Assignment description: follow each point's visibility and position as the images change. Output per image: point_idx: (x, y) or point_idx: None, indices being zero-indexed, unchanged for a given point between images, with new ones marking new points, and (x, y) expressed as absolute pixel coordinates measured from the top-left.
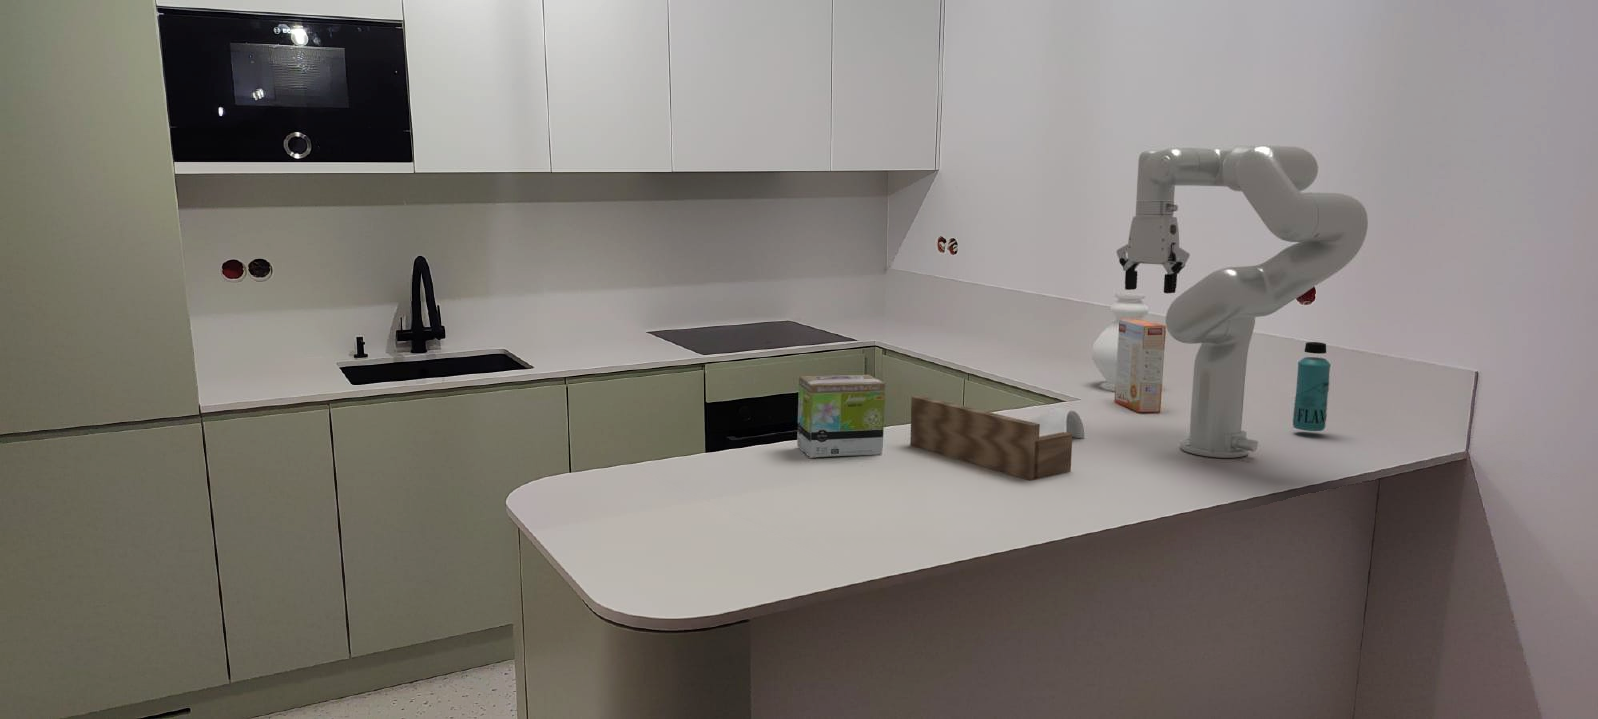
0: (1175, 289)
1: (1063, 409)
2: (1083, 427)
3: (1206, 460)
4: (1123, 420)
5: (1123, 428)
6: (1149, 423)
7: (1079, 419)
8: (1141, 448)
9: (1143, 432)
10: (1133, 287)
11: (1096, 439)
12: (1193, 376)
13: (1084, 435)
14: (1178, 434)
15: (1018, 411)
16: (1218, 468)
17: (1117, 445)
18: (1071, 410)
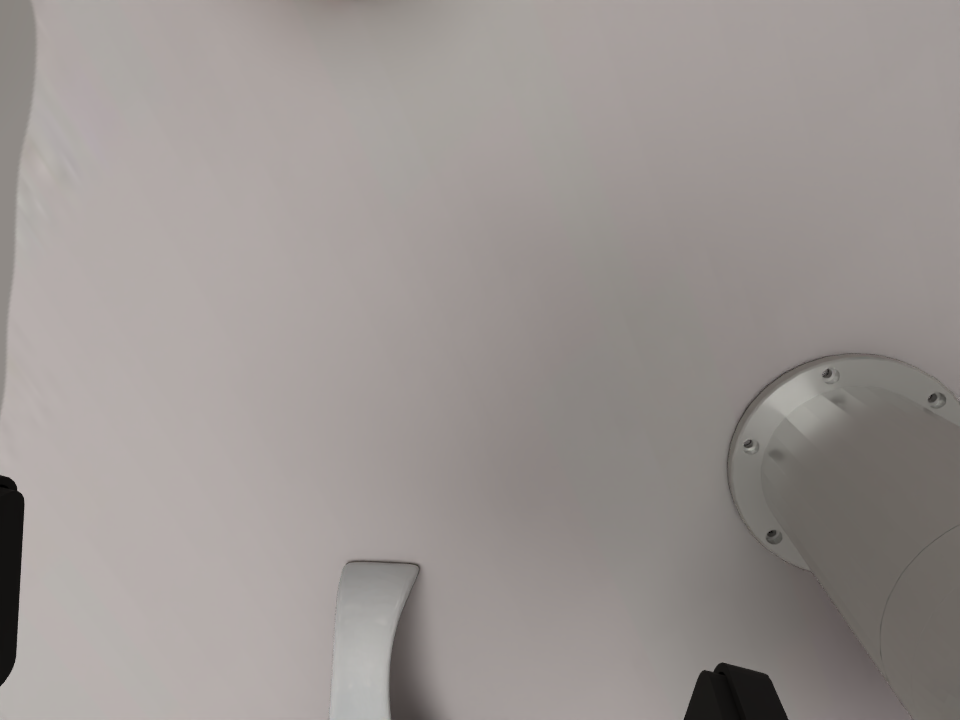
0: (779, 704)
1: (344, 686)
2: (409, 590)
3: None
4: (377, 190)
5: (445, 331)
6: (479, 169)
7: (396, 628)
8: (625, 578)
9: (530, 345)
10: (2, 571)
11: (456, 553)
12: (878, 667)
13: (417, 568)
14: (647, 286)
15: (23, 323)
16: None
17: (547, 587)
18: (387, 714)
